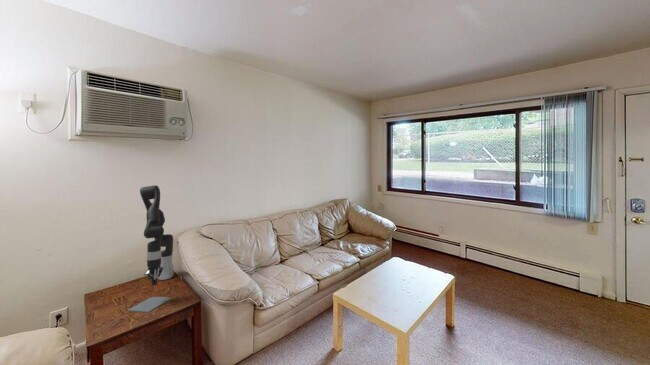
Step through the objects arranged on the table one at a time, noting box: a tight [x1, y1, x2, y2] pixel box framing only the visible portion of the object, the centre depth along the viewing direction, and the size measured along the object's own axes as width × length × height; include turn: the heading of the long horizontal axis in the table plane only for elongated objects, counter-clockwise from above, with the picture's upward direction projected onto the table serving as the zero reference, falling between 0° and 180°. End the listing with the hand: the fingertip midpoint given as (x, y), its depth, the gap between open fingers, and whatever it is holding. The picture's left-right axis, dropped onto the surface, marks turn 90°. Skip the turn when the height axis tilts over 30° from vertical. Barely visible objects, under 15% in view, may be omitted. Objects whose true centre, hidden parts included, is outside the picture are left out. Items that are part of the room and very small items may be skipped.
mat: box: [127, 296, 172, 314], centre depth 157 cm, size 18×14×1 cm
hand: (154, 285), depth 160 cm, fingers closed
